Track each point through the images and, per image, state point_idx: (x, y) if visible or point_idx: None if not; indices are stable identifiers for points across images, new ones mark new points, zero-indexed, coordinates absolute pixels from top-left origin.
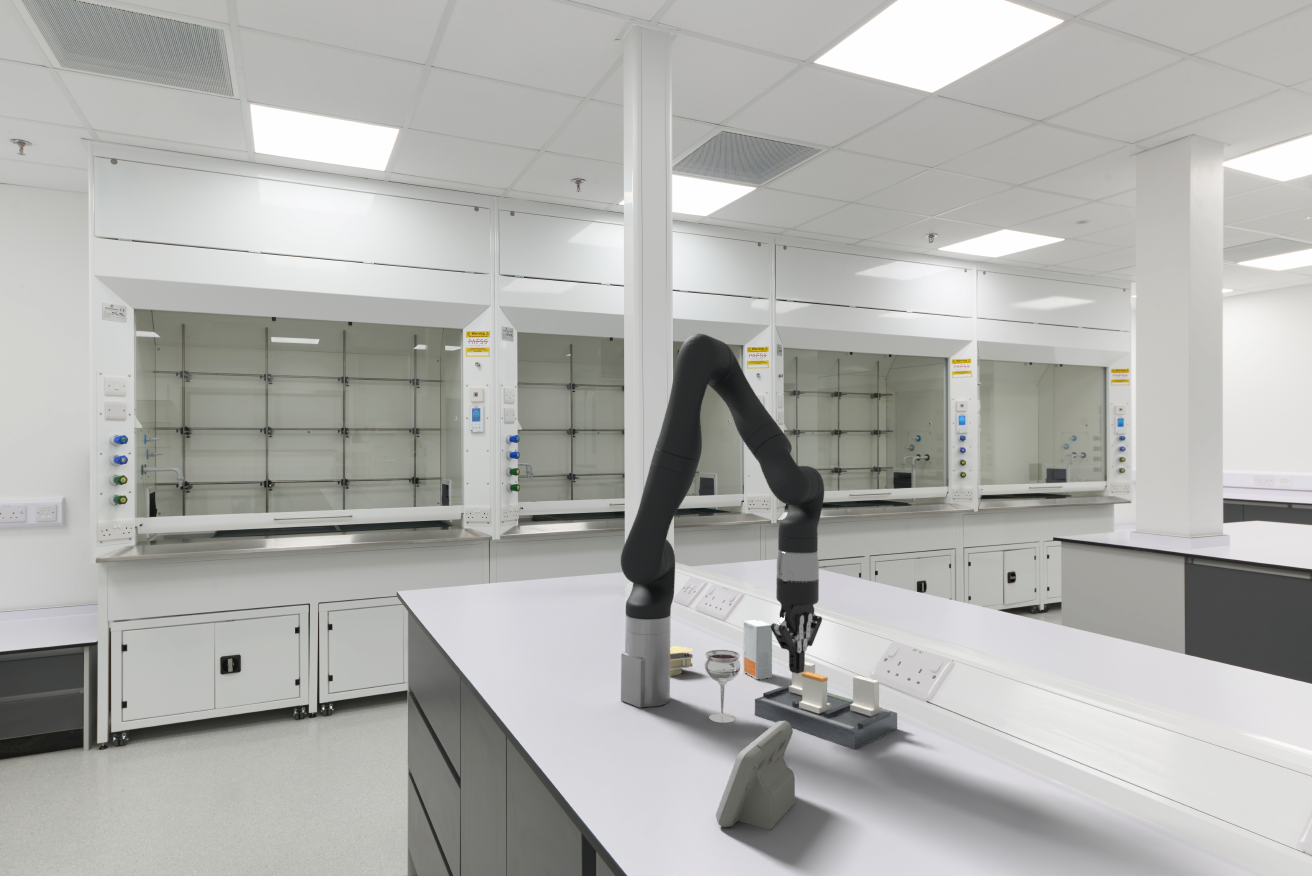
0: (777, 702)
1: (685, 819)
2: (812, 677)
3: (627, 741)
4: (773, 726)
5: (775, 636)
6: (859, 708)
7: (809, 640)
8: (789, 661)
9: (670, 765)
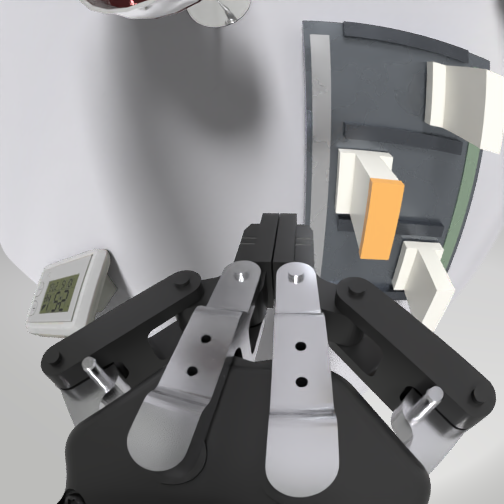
0: (329, 81)
1: (32, 242)
2: (365, 223)
3: (33, 44)
4: (60, 330)
5: (98, 319)
6: (400, 266)
7: (334, 350)
8: (241, 243)
9: (41, 141)
